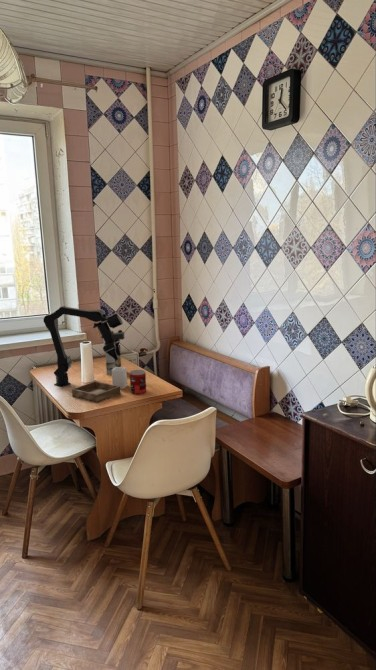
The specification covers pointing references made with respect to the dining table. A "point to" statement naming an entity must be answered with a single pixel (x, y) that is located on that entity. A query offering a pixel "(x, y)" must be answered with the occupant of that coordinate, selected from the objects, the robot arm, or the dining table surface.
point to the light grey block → (119, 377)
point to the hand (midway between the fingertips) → (118, 357)
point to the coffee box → (112, 363)
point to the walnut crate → (96, 391)
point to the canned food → (138, 382)
